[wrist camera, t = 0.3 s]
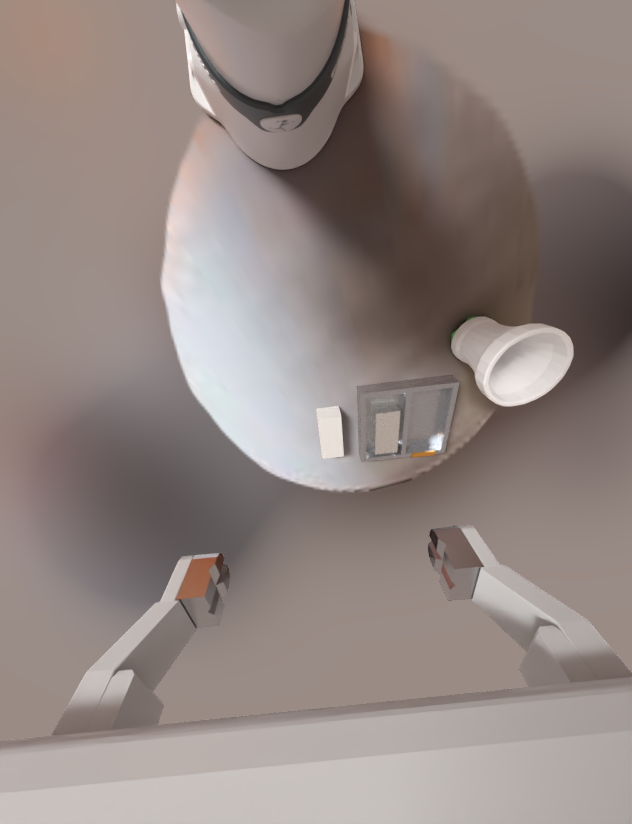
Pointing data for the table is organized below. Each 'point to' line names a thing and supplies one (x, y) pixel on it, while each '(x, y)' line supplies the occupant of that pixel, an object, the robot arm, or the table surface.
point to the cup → (513, 358)
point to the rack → (405, 417)
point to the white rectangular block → (330, 432)
